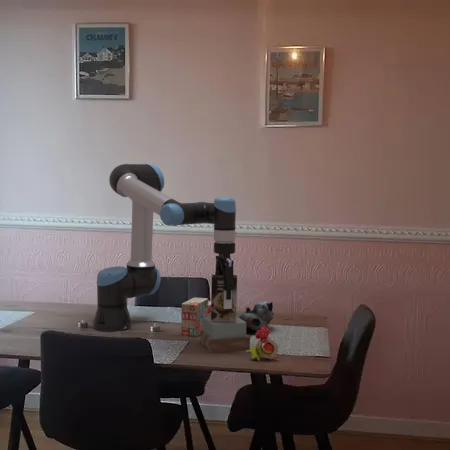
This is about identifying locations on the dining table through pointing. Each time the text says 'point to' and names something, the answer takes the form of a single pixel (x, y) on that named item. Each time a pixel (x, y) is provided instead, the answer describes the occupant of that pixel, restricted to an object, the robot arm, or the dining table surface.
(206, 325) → the grey-green block
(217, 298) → the coffee box
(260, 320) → the lucky cat figurine
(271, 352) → the bird rattle
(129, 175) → the robot arm
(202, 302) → the stack of blocks
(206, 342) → the walnut slab
